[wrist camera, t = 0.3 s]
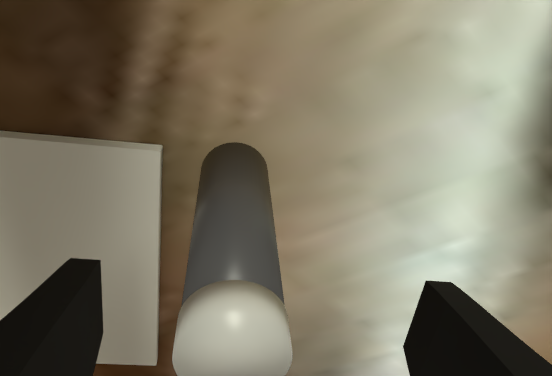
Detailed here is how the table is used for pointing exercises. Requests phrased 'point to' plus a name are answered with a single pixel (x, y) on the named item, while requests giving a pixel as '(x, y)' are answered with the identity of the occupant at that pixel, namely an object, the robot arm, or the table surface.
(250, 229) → the cylinder
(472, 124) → the table surface
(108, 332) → the notepad
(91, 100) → the table surface
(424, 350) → the robot arm
